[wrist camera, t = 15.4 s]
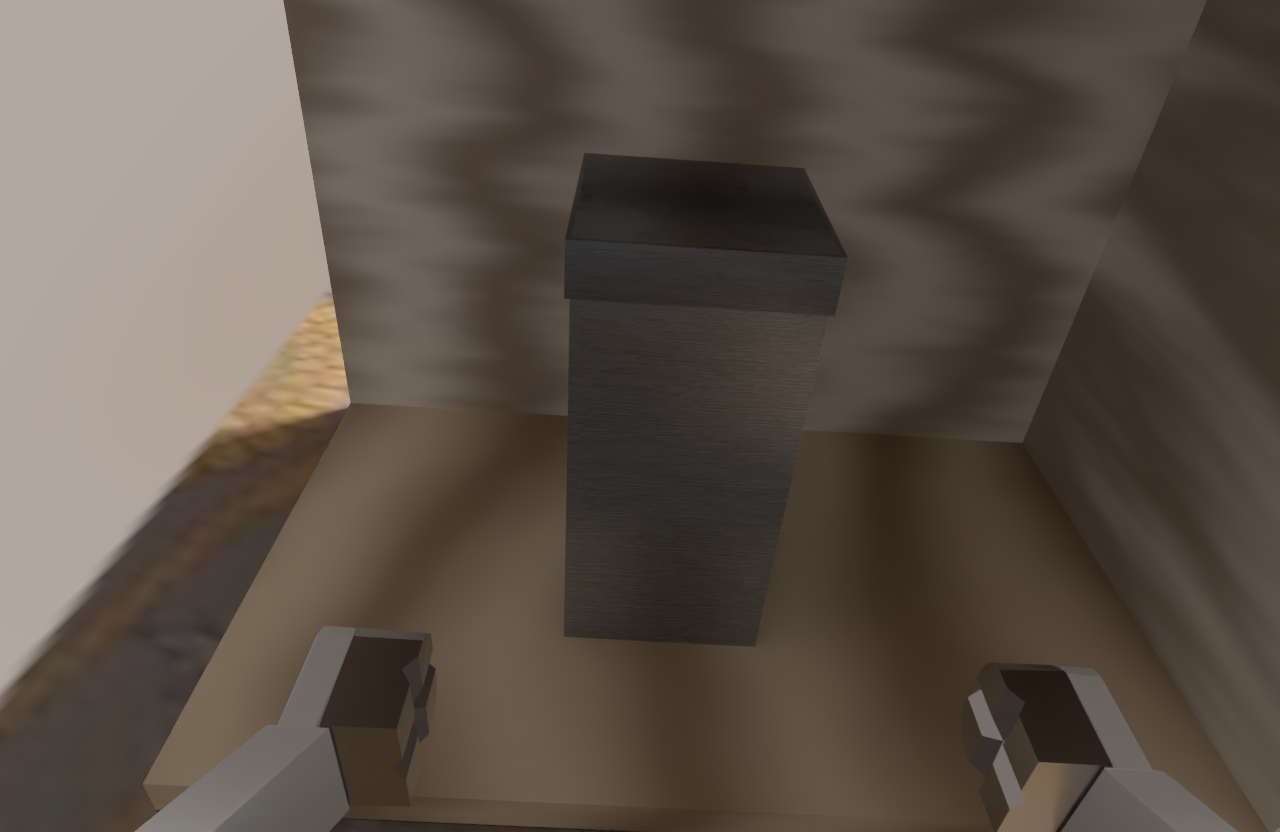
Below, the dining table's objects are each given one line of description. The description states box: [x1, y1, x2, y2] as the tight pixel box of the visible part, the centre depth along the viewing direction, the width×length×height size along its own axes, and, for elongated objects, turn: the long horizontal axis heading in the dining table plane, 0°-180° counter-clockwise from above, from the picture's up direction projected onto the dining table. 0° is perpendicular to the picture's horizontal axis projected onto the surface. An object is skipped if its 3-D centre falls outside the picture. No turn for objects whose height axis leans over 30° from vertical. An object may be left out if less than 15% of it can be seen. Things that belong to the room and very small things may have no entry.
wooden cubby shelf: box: [143, 0, 1280, 832], centre depth 19 cm, size 26×16×20 cm, turn 89°
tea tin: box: [564, 153, 848, 647], centre depth 20 cm, size 5×5×11 cm
